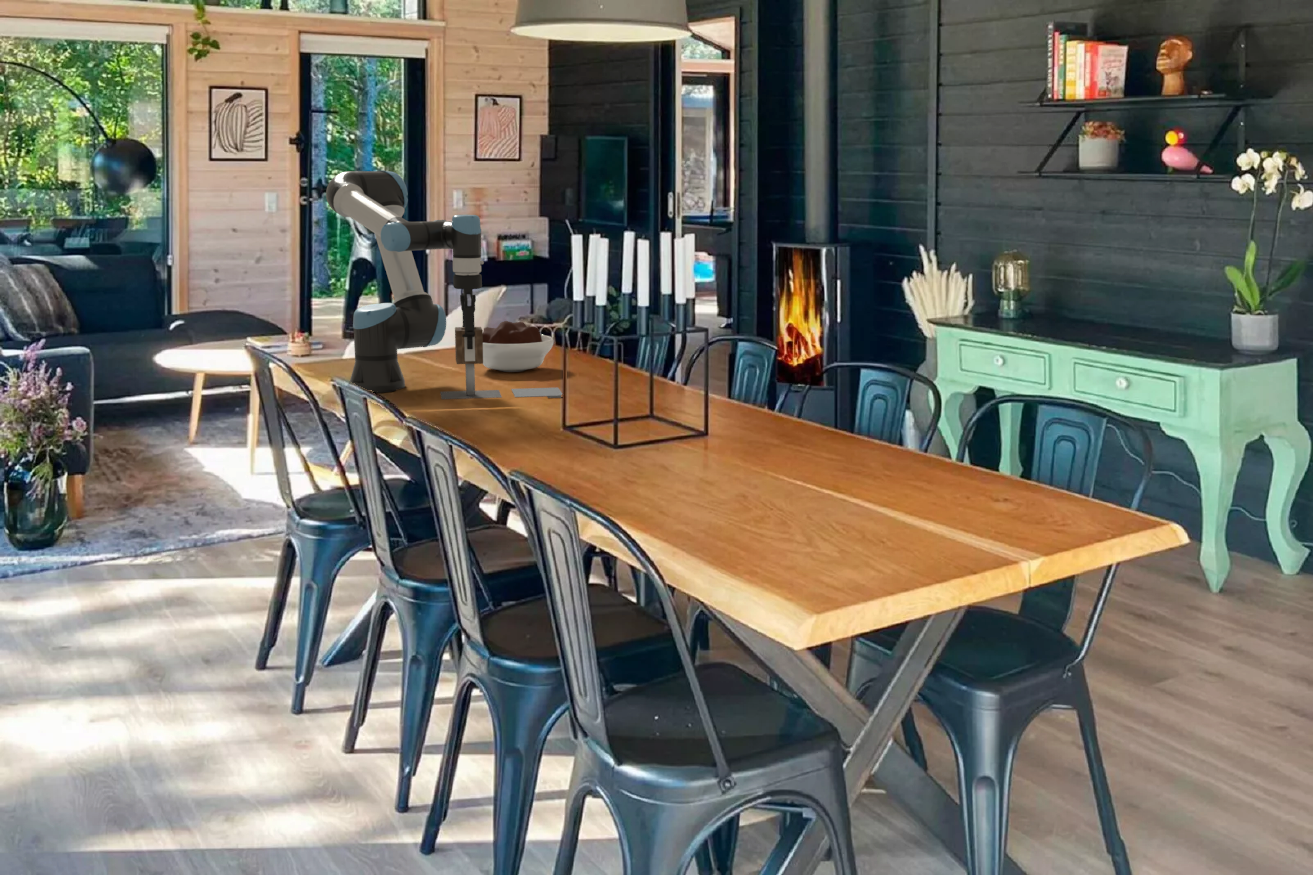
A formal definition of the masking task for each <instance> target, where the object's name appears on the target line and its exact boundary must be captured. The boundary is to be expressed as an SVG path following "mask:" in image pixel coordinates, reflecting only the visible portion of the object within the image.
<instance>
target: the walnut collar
mask: <svg viewBox="0 0 1313 875" xmlns="http://www.w3.org/2000/svg"><path fill="white" fill-rule="evenodd" d="M474 327H475V336H474V337H475V361H465V346H464V337H462V334H465V327H462V326H455V327H454V339H455V340H454V342H455V344H454V345H455V349H454V350H455V363H456V365H465V364H474V365H476V364H477V365H480V364H481V365H483V332H484V329H483V328H482V327H481V326H474Z"/></svg>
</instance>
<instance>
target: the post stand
mask: <svg viewBox="0 0 1313 875" xmlns="http://www.w3.org/2000/svg"><path fill="white" fill-rule="evenodd" d="M464 366H465V390H461V391H460V390H454V391H452V390H451V391H450V390H449V391H440V399H441V400H463V399H464V400H468V399H493V398H494V399H495V398H496V399H497V398H503V396H502V394H501V392H500V390H499V389H488V390H487V389H485V390H483V389H482V390H476V377H475V376H476V375H475V374H476V373H475V372H476V371H475V368H476V367H475V364H464Z"/></svg>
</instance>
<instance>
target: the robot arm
mask: <svg viewBox="0 0 1313 875" xmlns="http://www.w3.org/2000/svg"><path fill="white" fill-rule="evenodd" d="M325 197H326V201H327V204H328V206H329V207H330V208H331V209H332V211H333V212H334V213H336V214H338V215H339V216H341V217H344V218H351V219H353V220H354V221H355V222H357V223H358V224H360V225H361V226H363V227H365V228H366V229H367V230H369V231H370V232H372V233H374V236H375V240H376V242H377V245H378V249H379V252H380V255H381V260H382V263H383V266H384V270H385V271H386V273H385V274H386V275H387V279H388V282H389V285H390V289H391V292H392V295H393V299H394V301H393V302H382V303H374V304H373V303H372V304H366V305H363V306H359V307H358V308H357V309H355V311H354V312H353V319H352V320H353V321H352V323H353V324H352V328H353V341H354V365H353V369H352V372H351V376H350V378H349V383H350V382H352V383H355V384H356V385H358V386H361V387H363V388H365V389H367V390H372V391H374V392H376V393H375V394H377V393H379V394H380V393H389V392H391V393H392V392H396V391H398V390H402V389H404V388H405V387H406V383H405V382H406V381H405V378H404V375H403V371H402V370H401V367H400V364H399V362H398V359H399V358H398V350H402V349H403V350H405V349H414V348H415V349H416V348H427V347H430V346H432V347H433V346H436V345H438V344H439V343H441V341H442V340H443V338H444V337H445V334H446V330H447V316H446V312H445V310H444V308H443V306H441V305H440V304H438V303H434V301H433V299H432V295H431V294H429V293H427V292H425V290H424V287H423V284H422V281H421V278H420V275H419V270H418V268H417V264H416V261H415V259H414V255H413V252H414V251H429V250H432V251H433V250H452V272H453V277H452V278H453V282H452V283H453V289H456V290H462V293H461V294H460V295H459V296H460V297H459V299H460V305H461V306H460V308H461V312H462V326H461V327H465V334H462V337H464V346H465V361H475V337H474V336H475V327H476V326H475V312H476V301H477V300H476V299H477V297H476V294H474V292H473V290H478V289H482V287H483V284H482V283H483V281H482V279H483V278H482V274H480V273H481V272H482V265H484V263H485V262H484V260H482V227H481V219H480V216H479V215H476V214H455V215H453V216H452V218H451V220H446V219H437V220H433V221H432V220H431V221H429V220H428V221H427V220H426V221H408V220H406V219H405V218H403V215H404V214H405V209H406V207H407V205H408V202H409V199H408V188H407V185H406V182H405V181H404V179H403V177H401V175H399V174H398V173H397V172H395V171H389V170H383V169H379V170H377V171H376V170H375V171H374V170H373V171H371V170H369V171H367V170H365V171H364V170H363V171H360V170H358V171H357V170H354V171H353V170H348V171H343V172H340V173H338V174H336V175H335V176H334V177H333V178H332V179H331V180H329V182H328V184H327V187H326V191H325ZM412 251H413V252H412Z"/></svg>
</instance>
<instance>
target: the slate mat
mask: <svg viewBox="0 0 1313 875" xmlns="http://www.w3.org/2000/svg"><path fill="white" fill-rule="evenodd" d="M511 392H512V393H513V396H514V398H538V397H542V398H543V397H546V398H548V399H557V398H559V399H560V398H561V395H562V394H563V393H562V391H561V389H560V388H559V387H534V388H532V387H529V388H511Z"/></svg>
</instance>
